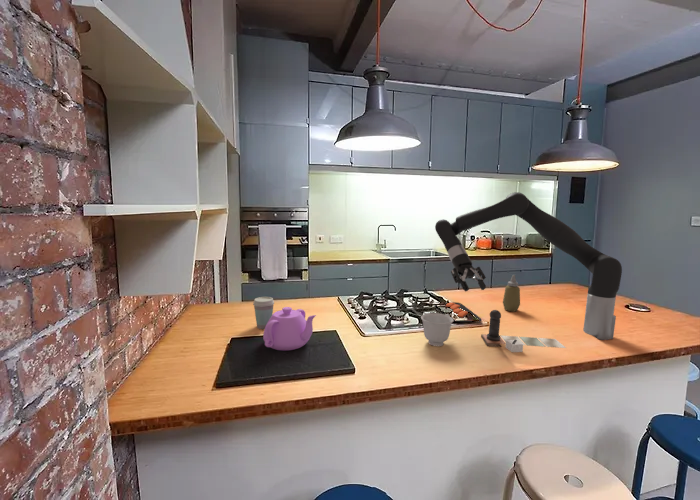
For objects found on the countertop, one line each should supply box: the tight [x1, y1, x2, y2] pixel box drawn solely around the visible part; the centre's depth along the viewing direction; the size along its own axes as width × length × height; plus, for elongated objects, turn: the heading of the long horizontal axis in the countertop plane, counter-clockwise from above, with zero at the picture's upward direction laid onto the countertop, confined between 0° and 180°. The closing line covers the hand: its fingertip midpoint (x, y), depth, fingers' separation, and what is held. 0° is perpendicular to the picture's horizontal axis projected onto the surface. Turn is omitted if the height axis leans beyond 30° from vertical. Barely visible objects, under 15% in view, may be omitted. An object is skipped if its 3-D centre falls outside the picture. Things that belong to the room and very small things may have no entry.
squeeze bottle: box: [502, 274, 521, 312], centre depth 171 cm, size 8×8×18 cm
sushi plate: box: [429, 301, 483, 323], centre depth 165 cm, size 29×30×4 cm
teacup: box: [420, 312, 454, 347], centre depth 130 cm, size 12×15×10 cm
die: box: [505, 340, 524, 353], centre depth 122 cm, size 4×4×4 cm
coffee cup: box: [252, 296, 275, 330], centre depth 142 cm, size 8×9×12 cm
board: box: [480, 333, 567, 349], centre depth 130 cm, size 28×9×1 cm, turn 83°
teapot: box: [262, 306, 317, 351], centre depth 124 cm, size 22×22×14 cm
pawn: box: [486, 309, 502, 341], centre depth 131 cm, size 5×5×12 cm
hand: (475, 289), depth 140 cm, fingers open, 8 cm apart
